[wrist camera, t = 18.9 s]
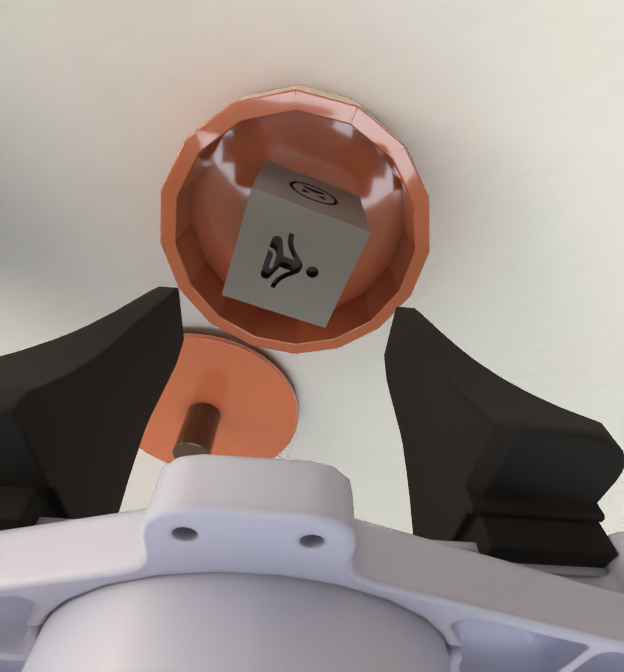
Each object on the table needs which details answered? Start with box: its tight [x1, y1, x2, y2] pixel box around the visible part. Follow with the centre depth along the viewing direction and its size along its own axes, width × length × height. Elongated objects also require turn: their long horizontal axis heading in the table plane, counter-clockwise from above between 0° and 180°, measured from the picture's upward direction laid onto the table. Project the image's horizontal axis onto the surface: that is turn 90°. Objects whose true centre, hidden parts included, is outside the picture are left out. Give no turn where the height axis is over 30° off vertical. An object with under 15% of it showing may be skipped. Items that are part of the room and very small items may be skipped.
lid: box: [139, 333, 298, 463], centre depth 27 cm, size 13×13×5 cm
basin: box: [161, 85, 429, 354], centre depth 20 cm, size 12×12×3 cm
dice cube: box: [222, 160, 371, 328], centre depth 19 cm, size 5×5×5 cm
